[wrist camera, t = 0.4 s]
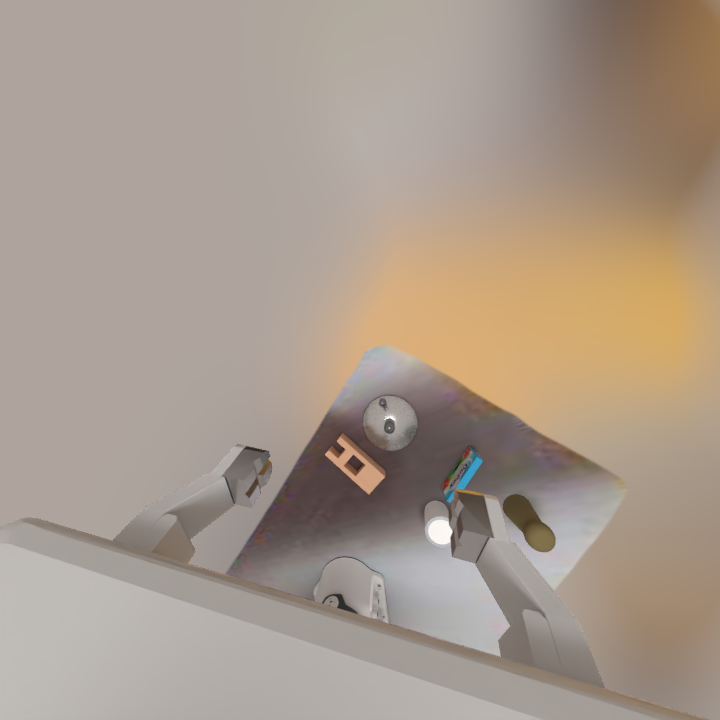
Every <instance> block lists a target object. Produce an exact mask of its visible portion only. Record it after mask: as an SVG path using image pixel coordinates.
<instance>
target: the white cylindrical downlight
mask: <svg viewBox="0 0 720 720" xmlns="http://www.w3.org/2000/svg"><path fill="white" fill-rule="evenodd" d="M424 515H425V534H426V537H427V539H428V540H429V542H431V543H432V544H433V545H435V546H438V547H448V546H451V540H450V537H451V535H452V532H453V531H452V529H451V528H450V526H449V511H448V509H447V507H446V505H445V504H443V503H442V502H440V501H431V502H429V503H428V504H427V505H426V506H425V510H424Z"/></svg>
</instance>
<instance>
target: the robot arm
mask: <svg viewBox="0 0 720 720" xmlns="http://www.w3.org/2000/svg"><path fill="white" fill-rule="evenodd" d="M269 457H270V454H269V451H266V450H262V449H257V448H253V447H248V446H244V445H239V444H237V445H235V446H234V447H233V448H232V449H231V450H230V451H229V452H228V454H227V455H226V456H225V457H224V458H223V459H222V461H221V462H220V463H219V464H218V465H217V467H216V468H215V469H214V470H213V471H212V473H211V474H210V473H207V474H205V475H203V476H201V477H199V478H198V479H196V480H194V481H192V482H190V483H188V484H187V485H185V486H183V487H181V488H179V489H177V490H175V491H174V492H172V493H170V494H168V495H166V496H164V497H162V498H160V499H159V500H157V501H155V502H153V503H151V504H149V505H147V506H146V507H145V508H144V509H143V510H142V511H141V512H140V513H139V514H138V515H137V516H136V517H135V518H134V519H133V520H132V521H131V522H130V523H129V524H128V525H127V526H126V527H125V528H124V529H123V530H122V531H121V532H120V534H118V535H117V536H116V538H115V539H114V540H113V541H111V540H108V539H105V538H101V537H98V536H95V535H91V534H88V533H85V532H81V531H78V530H75V529H71V528H68V527H64V526H61V525H58V524H55V523H51V522H48V521H44V520H41V519H38V518H31V517H30V518H23V519H19V520H17V521H14V522H12V523H9V524H6V525H4V526H1V527H0V720H709V719H706V718H702V717H699V716H696V715H692V714H689V713H686V712H682V711H679V710H676V709H673V708H669V707H666V706H663V705H659V704H656V703H653V702H649V701H646V700H643V699H639V698H636V697H633V696H630V695H626V694H623V693H620V692H616V691H612V690H609V689H606V688H605V686H604V684H603V682H602V679H601V676H600V674H599V671H598V669H597V666H596V664H595V661H594V659H593V656H592V653H591V651H590V648H589V646H588V643H587V641H586V638H585V636H584V633H583V631H582V628H581V626H580V623H579V621H578V620H577V619H576V618H575V616H574V615H573V614H572V613H571V611H570V610H569V609H568V608H567V607H566V605H565V604H564V603H563V602H562V600H561V599H560V598H559V597H558V596H557V594H556V593H555V592H554V591H553V589H552V588H551V587H550V586H549V584H548V583H547V582H546V581H545V580H544V578H543V577H542V576H541V575H540V573H539V572H538V571H537V570H536V569H535V567H534V566H533V565H532V564H531V562H530V561H529V560H528V559H527V558H526V556H525V555H524V554H523V553H522V551H521V550H520V549H519V548H518V547H517V545H516V544H515V543H512V542H510V539H509V535H508V532H507V528H506V525H505V521H504V518H503V514H502V511H501V507H500V504H499V500H498V499H497V497H496V496H491V495H486V494H482V493H478V492H472V491H467V490H462V489H455V490H454V493H453V497H454V499H453V500H451V502H450V505H449V526H450V528H451V529H452V531H453V532H452V535H451V537H450V540H451V550H452V557H454V558H458V559H461V560H465V561H469V562H472V563H476V566H477V568H478V570H479V572H480V573H481V575H482V577H483V579H484V580H485V582H486V584H487V586H488V587H489V589H490V591H491V593H492V594H493V596H494V598H495V600H496V601H497V603H498V605H499V607H500V608H501V610H502V612H503V614H504V615H505V617H506V619H507V621H508V623H509V624H510V627H509V628H508V629H507V630H506V632H505V633H504V634H503V635H502V636H501V638H500V639H499V640H498V642H499V648H500V654H501V657H499V656H496V655H493V654H489V653H486V652H483V651H479V650H476V649H473V648H469V647H466V646H463V645H459V644H456V643H452V642H449V641H446V640H442V639H439V638H436V637H432V636H429V635H426V634H422V633H419V632H416V631H412V630H409V629H406V628H402V627H399V626H396V625H392V624H389V619H388V610H387V602H386V594H385V585H384V578H383V576H382V575H381V574H379V573H377V572H374V571H372V570H370V569H369V568H368V567H367V566H366V565H364V564H363V563H362V562H360V561H358V560H356V559H353V558H346V557H343V558H337V559H335V560H333V561H331V562H330V563H328V564H327V565H326V567H325V568H324V570H323V572H322V575H321V578H320V581H319V582H318V583H317V584H316V585H315V587H314V591H313V594H314V596H315V600H314V601H312V600H309V599H305V598H302V597H299V596H295V595H292V594H289V593H285V592H282V591H279V590H275V589H272V588H269V587H265V586H262V585H259V584H255V583H252V582H249V581H245V580H242V579H239V578H235V577H232V576H229V575H225V574H222V573H219V572H215V571H212V570H208V569H205V568H201V567H198V566H195V565H192V564H188V562H189V561H190V559H191V558H192V556H193V555H194V553H195V548H194V546H193V545H192V543H191V541H190V539H191V538H193V537H194V536H195V535H196V534H198V533H199V532H200V531H202V530H203V529H204V528H205V527H207V526H208V525H209V524H211V523H212V522H213V521H215V520H216V519H217V518H218V517H220V516H221V515H222V514H224V513H225V512H226V511H227V510H229V509H230V508H231V507H232V506H234V504H237V505H241V506H246V507H251V508H252V507H253V506H254V504H255V502H256V500H257V499H258V497H259V496H260V494H261V491H260V488H261V487H263V486H264V485H266V484H267V482H268V480H269V478H270V475H271V472H272V464H271V462H270V461H269V460H268V459H269ZM378 584H380V585H378Z"/></svg>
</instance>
